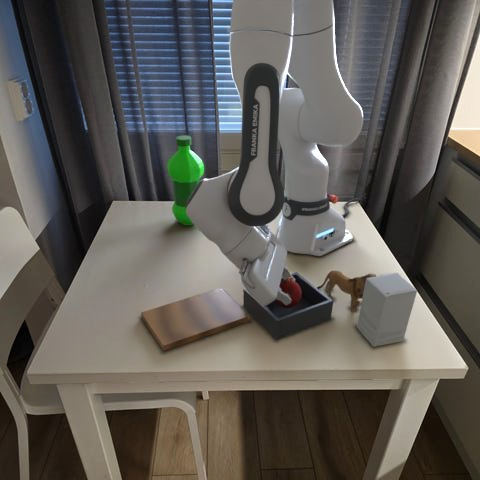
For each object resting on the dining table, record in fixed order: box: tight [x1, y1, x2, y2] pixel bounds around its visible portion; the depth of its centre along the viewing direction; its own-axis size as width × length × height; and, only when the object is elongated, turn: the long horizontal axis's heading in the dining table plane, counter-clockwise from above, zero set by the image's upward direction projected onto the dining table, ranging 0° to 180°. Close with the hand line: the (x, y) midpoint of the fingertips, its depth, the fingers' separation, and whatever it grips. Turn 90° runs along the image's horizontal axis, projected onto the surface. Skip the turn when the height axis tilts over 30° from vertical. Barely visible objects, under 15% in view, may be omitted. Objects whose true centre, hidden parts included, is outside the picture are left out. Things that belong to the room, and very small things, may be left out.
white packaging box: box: [356, 272, 418, 348], centre depth 92 cm, size 7×7×13 cm
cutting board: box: [140, 287, 250, 352], centre depth 99 cm, size 20×13×2 cm, turn 120°
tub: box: [242, 271, 334, 341], centre depth 100 cm, size 15×14×5 cm
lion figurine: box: [316, 269, 377, 312], centre depth 103 cm, size 15×5×9 cm, turn 54°
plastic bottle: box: [166, 135, 205, 226], centre depth 131 cm, size 10×10×25 cm
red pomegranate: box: [276, 277, 302, 308], centre depth 98 cm, size 6×6×8 cm
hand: (291, 292), depth 98 cm, fingers closed on red pomegranate, 6 cm apart
